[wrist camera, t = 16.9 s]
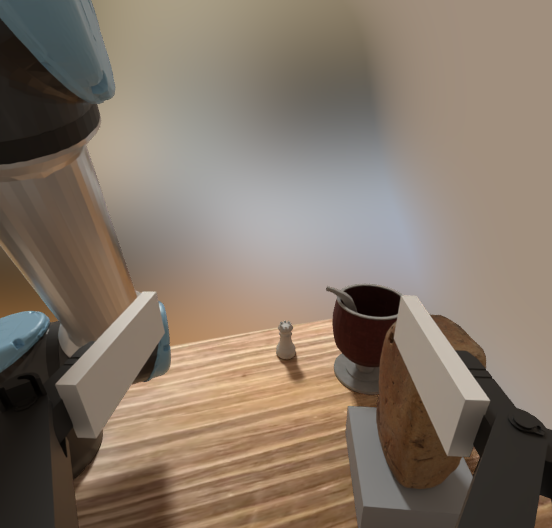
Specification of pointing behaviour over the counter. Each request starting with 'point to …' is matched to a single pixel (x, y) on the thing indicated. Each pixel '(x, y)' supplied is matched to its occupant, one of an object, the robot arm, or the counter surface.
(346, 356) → the mate gourd
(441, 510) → the grey base block
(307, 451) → the counter surface
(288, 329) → the rook chess piece
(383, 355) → the block
